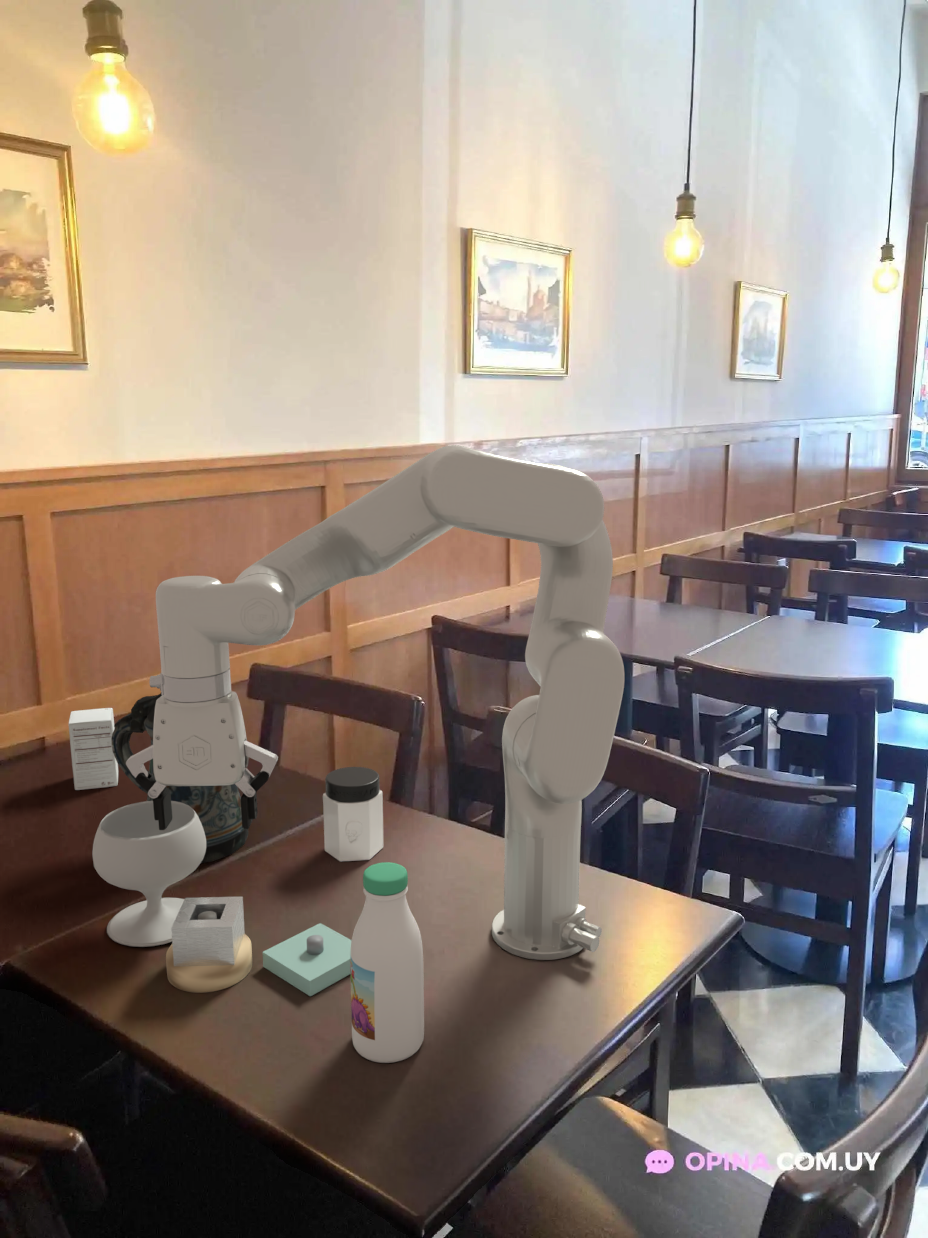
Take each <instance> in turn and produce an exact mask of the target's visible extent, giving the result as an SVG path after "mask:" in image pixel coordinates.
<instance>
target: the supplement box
mask: <svg viewBox="0 0 928 1238" xmlns="http://www.w3.org/2000/svg"><path fill="white" fill-rule="evenodd" d="M114 717H115V716H114V709H113V708H112V707H105V708H104V707H102V708H92V709H83V710H82V709H80V710H74V711H73V710H72V711H70V715H69V719H68V733H69V743H70V744H69V745H70V755H71V757H70V758H71V766H72V775H73V784H74V785H73V787H74V790H75V791H80V790H82V791H83V790H91V789H100V788H109V787H117V786H118V783H119V764H118V763H117V761H116V758H115V756H114V754H113V750H112V734H113V731H114V729H115V727H114V725H115V718H114Z"/></svg>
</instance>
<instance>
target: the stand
mask: <svg viewBox="0 0 928 1238" xmlns="http://www.w3.org/2000/svg"><path fill="white" fill-rule="evenodd" d="M351 940H352V939H350V938H349V937H347V936H344V935H343V934H341V933H339V932H337V931H335V930H334V929H332V928H331V927H328V926H326V925H325V924H323V923H321V922H320V923H317V924H314V926H312V927H309V928H307V929H306V930H303V931H301V932H300V933H297V934H295V935H294V936H292V937H289V938H287V939H286V940H285V939H284V941H281V942H280V943H277V944H275V945H273V946H272V947H270V948H268V949H266V950H263V951H262V967H263V968H265V969H266V970H268V971H269V972H271V973H272V974H274V975H276V976H277V977H279V978H280V979H282V980H284V981H285V982H287V983H288V984H290V985H291V986H292V987H294V988H296V989H298V990H300V992H303V993H304V994H306V995H307V996H309V997H312V996H314V995H316V994H318V993H319V992H321V991H323V990H325V989H326V988H328V987H330V986H331V985H333V984H335V983H337V982H339V981H340V980H342V979H344V978H346V977H347V976H349V975H351V974H350V955H351Z"/></svg>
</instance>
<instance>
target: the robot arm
mask: <svg viewBox="0 0 928 1238" xmlns="http://www.w3.org/2000/svg"><path fill="white" fill-rule="evenodd" d="M604 514H605V500H604V495H603V493H602V491H601V488H600V487H599V485H598V484H597V482H596V481H594V479H592V478H591V477H590V476H589V475H588V474H585V473H584V472H582V471H579V470H577V469H573V468H569V467H566V466H564V465H563V466H562V465H559V464H555V463H547V462H544V463H542V462H541V463H535V462H531V461H525V460H520V459H515V458H510V457H506V456H501V455H498V454H497V455H496V454H493V453H489V452H485V451H480V450H477V449H474V448H469V447H467V446H462V445H457V444H455V445H454V444H453V445H446V446H442V447H440V448H437V449H436V450H434V451H432V452H429V453H428V454H426V455H425V456H424V457H422V458H420V459H419V460H417V461H415V462H414V463H412V464H410V465H409V466H408V467H407V468H405V469H403V470H401V471H400V472H398V473H397V474H396V475H394V476H392V477H391V478H389V479H388V480H386V481H385V482H383V483H381V484H380V485H379V486H377V487H375V488H373V489H372V490H371V491H369V492H367V493H366V494H364V495H362V496H361V497H360V498H358V499H356V500H355V501H353V502H351V503H350V504H348V505H347V506H345V507H343V508H341V509H340V510H338V511H337V512H335V513H333V514H331V515H329V516H328V517H327V518H326V519H324V520H322V521H321V522H319V523H317V524H315V525H314V526H312V527H311V528H309V529H307V530H305V531H303V532H302V533H299V534H298V535H297V536H295V537H293V538H292V539H291V540H289V541H287V542H285V543H284V544H282V545H281V546H279V547H278V548H276V549H274V550H272V551H271V552H269V553H268V554H266V555H265V556H263V557H262V558H260V559H259V560H257V561H255V562H254V563H253V564H251V565H250V566H248V567H247V568H245V569H244V570H243V571H241V573H240V574H239V575H237V577H236V578H235V580H234V582H231V583H230V582H229V583H222V581H220V580H219V579H218V578H216V577H212V576H209V575H208V576H207V575H185V576H175V577H171V578H168V579H166V580H163V581H161V582H160V583H159V585H158V586H157V588H156V591H155V606H156V607H155V608H156V609H155V610H156V621H157V631H158V642H159V643H158V644H159V656H160V658H159V659H160V669H161V672H160V673H159V674H156V675H150V676H149V687H150V688H156V689H159V691H160V693H161V695H162V696H161V697H160V698H158V699H157V700H156V705H155V713H154V727H153V745H152V746H151V745H149V746H148V747H146V748H143V749H142V750H140V751H138V752H137V753H135V754H134V753H133V754H134V755H133V756H131V757H130V758H129V759H128V760H127V761H126V765H127V767H128V768H129V770H130V772H131V773H132V775H133V776H134V777H135V778H136V779H135V780H136V782H137V783H138V784H139V785H140V786H141V787H142V788H144V789H145V790H146V791H147V792H148V794H147V795H149V797H151V798H153V808H154V819H155V820H158V822H159V830H165V829H166V828H167V827H168V825H169V824H170V822H171V821H172V806H171V793H170V790H169V788H167V787H166V786H219V785H231V784H235V785H236V786H237V787H238V790H240V791H241V792H242V795H241V815H242V828H244V829H248V830H249V829H250V827H251V825H252V823H253V820H256V819H257V818H258V812H259V811H258V798H257V792H258V791H259V790H260V789H261V788H262V787H263V786H264V785H265V784H266V783H267V782H268V780H269V778H270V777H271V775H272V773H273V770H274V768H275V766H276V765H277V762H278V760H279V756H278V755H277V754H276V753H273V752H272V751H270V750H268V749H266V748H263V747H261V746H259V745H256V744H254V743H252V742H250V741H248V739H247V733H246V727H245V720H244V716H243V710H242V707H241V703H240V700H239V697H238V694H237V692H236V691H233V690H232V681H231V680H232V677H231V664H230V663H231V662H230V660H231V659H230V648H229V647H230V645H229V644H237V645H245V646H267V645H271V644H275V643H277V642H280V640H282V639H283V638H285V637H286V636H287V634H289V632H290V630H291V629H292V627H293V624H294V621H295V614H296V610H297V609H298V608H301V606H304V605H305V604H306V603H308V602H310V601H311V600H313V599H314V598H317V596H319V595H321V594H322V593H324V592H326V591H327V590H329V589H331V588H332V587H333V588H334V587H335V586H336V585H340V584H341V583H343V582H346V581H349V580H351V579H354V578H359V577H360V578H361V577H367V576H369V577H370V576H373V575H377V574H380V573H382V572H386V571H387V570H389V569H391V568H393V567H394V566H395V565H397V564H398V563H400V562H402V561H403V560H405V559H407V558H408V557H409V556H411V555H412V554H413V553H415V552H417V551H418V550H420V549H421V548H423V547H424V546H426V545H428V544H429V543H431V542H432V541H434V540H435V539H436V538H438V537H441V536H442V535H444V534H445V533H447V532H449V531H450V530H451V529H452V528H457V529H461V530H465V531H470V532H474V533H479V534H481V535H482V534H483V535H488V536H492V537H493V536H494V537H498V538H505V539H509V540H510V539H511V540H516V541H517V540H518V541H523V542H527V543H534V544H537V545H538V550H539V553H540V555H539V556H540V573H539V574H540V575H539V581H538V589H537V595H536V600H535V604H534V609H533V615H532V620H531V623H530V630H529V633H528V638H527V642H526V646H525V653H524V659H525V660H524V661H525V664H526V665H525V666H526V668H527V670H528V672H529V674H530V675H531V677H532V678H533V680H534V681H535V682H536V683H537V685H539V694H535V695H530V696H527V697H524V698H523V699H522V700H520V701H519V702H517V703H516V704H515V705H514V706H513V707H512V709H510V710H509V712H508V714H507V716H506V718H505V721H504V723H503V724H504V725H503V726H502V727H503V728H502V734H501V735H502V737H501V743H502V744H501V746H502V747H501V748H502V749H501V750H502V761H503V762H502V763H503V772H504V775H503V776H504V793H505V795H504V797H505V800H504V801H505V802H504V803H505V808H504V810H505V812H504V814H505V817H504V818H505V819H504V864H503V865H504V867H503V869H504V870H503V871H504V873H503V874H504V875H503V876H504V877H503V878H504V880H503V883H504V885H503V909H502V910H500V911H499V912H498V913H497V914H496V915H495V916H494V918H493V920H492V923H491V935H492V938H493V940H494V941H495V942H496V944H497V945H498V946H499V947H500V948H502V949H503V950H505V951H506V952H508V953H510V954H512V955H515V956H516V957H517V956H518V957H521V958H524V959H531V960H535V961H536V960H538V961H539V960H540V961H551V960H560V959H563V958H564V959H565V958H568V957H570V956H573V955H575V954H577V953H580V951H582V950H583V949H586V950H587V951H589V952H592V953H594V952H596V951H597V950H598V948H599V945H600V937H601V935H602V927H600V926H599V925H596V924H593V923H590V922H588V921H587V919H586V911H587V910H586V906H584V905H582V904H579V901H580V899H579V896H580V867H581V866H580V864H581V863H580V862H581V836H582V835H581V832H582V831H581V830H582V827H581V826H582V809H583V808H582V807H583V805H582V802H583V801H582V800H584V799H585V798H586V797H587V796H589V795H590V794H591V793H593V791H594V790H595V789H596V788H597V786H598V785H599V783H600V782H601V781H602V779H603V776H604V774H605V771H606V769H607V766H608V763H609V758H610V754H611V749H612V745H613V742H614V736H615V733H616V727H617V723H618V719H619V715H620V710H621V705H622V700H623V696H624V695H623V694H624V688H625V666H624V661H623V658H622V654H621V653H620V650H619V649H618V647H617V645H616V644H615V643H614V642H613V641H612V640H611V639H610V638H609V637H608V636H607V635H606V634H605V625H606V618H607V611H608V607H609V606H608V605H609V598H610V593H611V586H612V580H613V571H614V570H613V569H614V564H613V563H614V561H613V560H614V559H613V548H612V543H611V539H610V535H609V531H608V528H607V526H606V523H605V522H604ZM151 759H153V769H154V775H152V774H151V773H150V772H149V769H146V766H145V765H144V764H145V763H147V762H150V760H151ZM249 759H252V760H254V761H256V762H259V763H260V764H261V765H262V768H261V769H260V771H258V772H257V774H256V775H254V774H253V773H252V772H251V771H250V770H249V769H248V768H249V767H248V766H249Z"/></svg>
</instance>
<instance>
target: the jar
mask: <svg viewBox="0 0 928 1238" xmlns="http://www.w3.org/2000/svg"><path fill="white" fill-rule="evenodd" d="M380 787H381V786H380V775H379V773H378V772H377V771H376V770H375V769H372V768H368V767H364V766H346V767H340V768H337V769H334V770H331V771H330V772H329V773H327V774H326V776H325V792H324V793H323V794H322V802H323V803H322V804H323V805H322V806H323V830H324V831H323V834H324V835H323V837H324V843H323V844H324V851H325V852H326V853H327V854H329V855H330V856H331V857H333V858H334V859H335V860H337V861H338V862H352V861H353V862H357V861H370V860H372V858H373V857H374V856H376V855H377V854H378V853H379V852H380V851H381V850H382V849H383V848H384V804H383V802H384V800H383V795H384V793H383V791H382V790H381V789H380Z"/></svg>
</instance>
